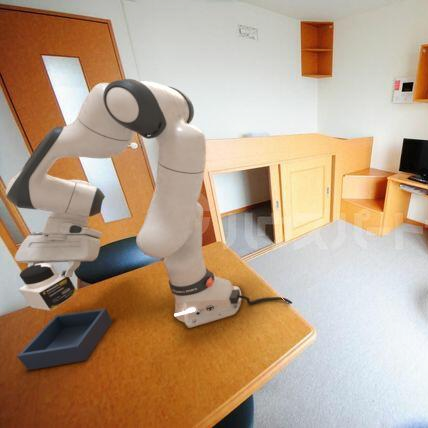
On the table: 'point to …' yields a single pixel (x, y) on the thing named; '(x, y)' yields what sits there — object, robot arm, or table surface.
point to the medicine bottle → (45, 287)
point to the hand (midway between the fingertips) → (50, 277)
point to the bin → (66, 339)
